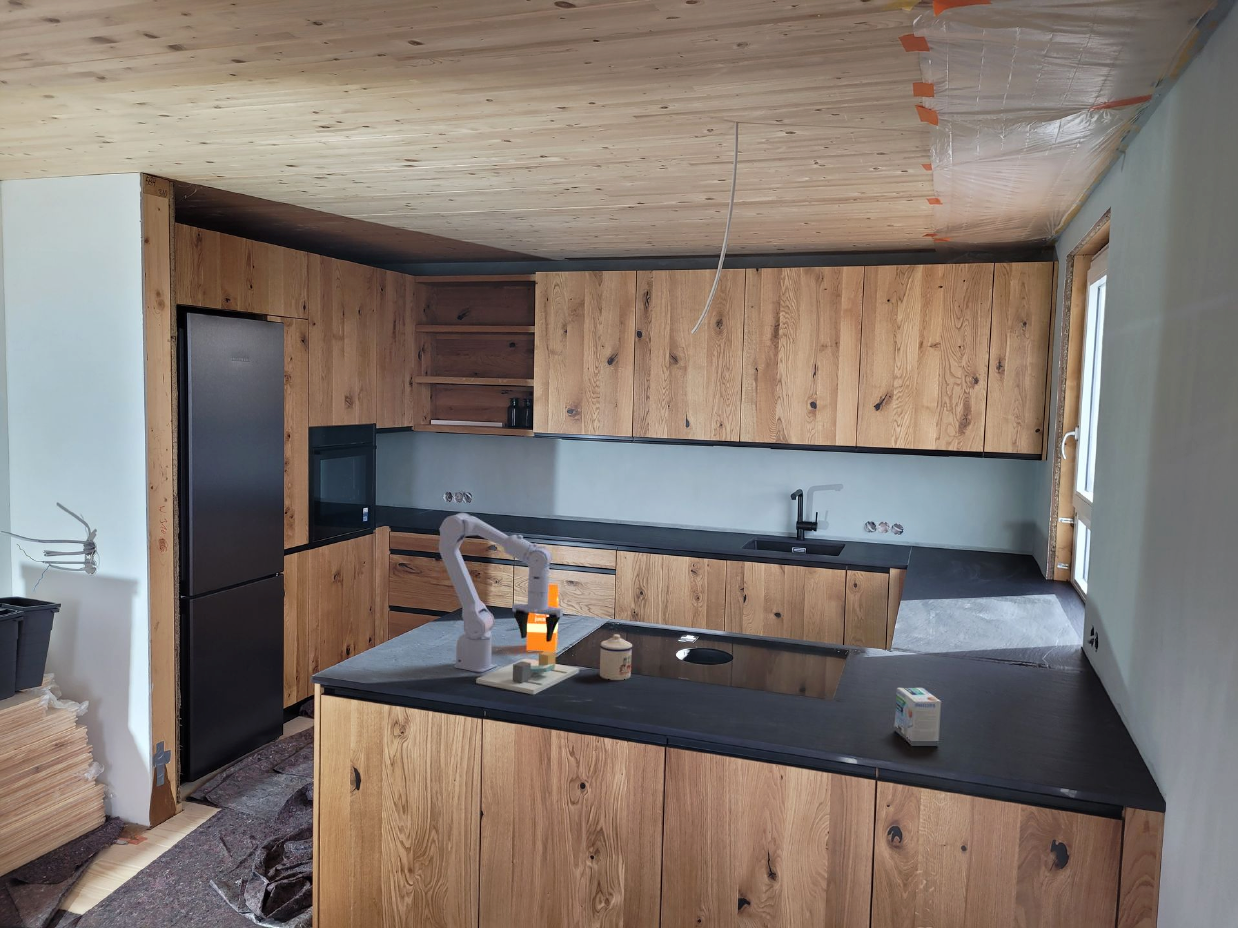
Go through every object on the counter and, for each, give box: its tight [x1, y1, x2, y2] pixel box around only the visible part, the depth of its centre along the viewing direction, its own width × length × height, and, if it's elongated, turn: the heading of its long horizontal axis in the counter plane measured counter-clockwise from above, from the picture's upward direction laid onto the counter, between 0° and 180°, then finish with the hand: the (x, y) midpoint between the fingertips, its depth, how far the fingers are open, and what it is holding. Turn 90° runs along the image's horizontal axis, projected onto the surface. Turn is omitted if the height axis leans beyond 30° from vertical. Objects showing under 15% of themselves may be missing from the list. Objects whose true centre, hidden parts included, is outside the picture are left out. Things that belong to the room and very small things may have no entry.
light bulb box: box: [894, 687, 942, 741], centre depth 214 cm, size 11×7×11 cm, turn 5°
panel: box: [475, 658, 580, 696], centre depth 252 cm, size 18×24×2 cm
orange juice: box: [526, 584, 560, 652], centre depth 282 cm, size 8×9×20 cm
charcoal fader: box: [512, 661, 531, 683], centre depth 244 cm, size 3×4×4 cm
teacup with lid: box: [599, 633, 633, 681], centre depth 257 cm, size 12×9×12 cm
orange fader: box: [538, 651, 557, 667], centre depth 256 cm, size 3×4×4 cm
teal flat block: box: [530, 664, 555, 673], centre depth 250 cm, size 8×4×1 cm, turn 63°
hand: (536, 639), depth 256 cm, fingers open, 7 cm apart
